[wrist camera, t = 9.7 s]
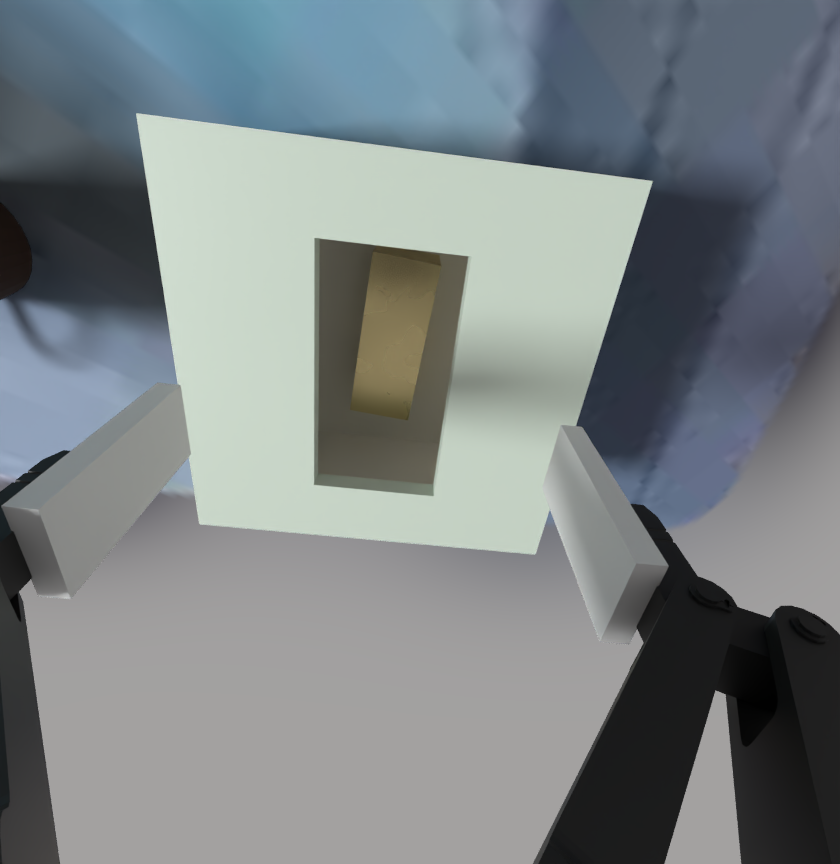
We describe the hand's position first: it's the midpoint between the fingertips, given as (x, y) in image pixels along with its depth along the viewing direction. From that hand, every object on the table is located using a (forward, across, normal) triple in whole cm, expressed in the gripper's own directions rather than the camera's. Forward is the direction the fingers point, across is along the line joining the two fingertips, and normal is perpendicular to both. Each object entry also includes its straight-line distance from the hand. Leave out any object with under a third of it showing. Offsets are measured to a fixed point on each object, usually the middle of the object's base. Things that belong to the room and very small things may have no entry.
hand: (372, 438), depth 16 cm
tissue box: (+15, 0, 0) cm, 15 cm away
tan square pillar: (+14, 0, 0) cm, 14 cm away
